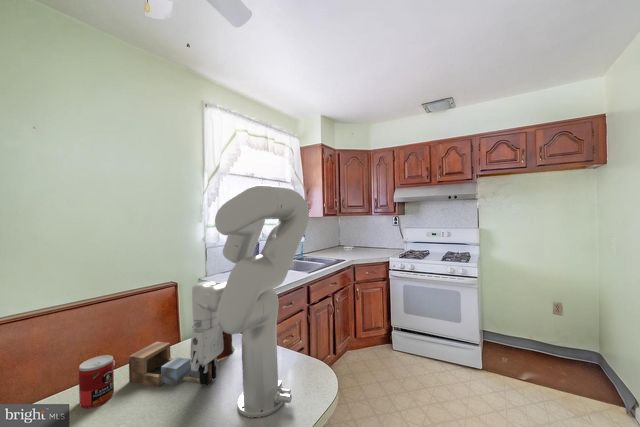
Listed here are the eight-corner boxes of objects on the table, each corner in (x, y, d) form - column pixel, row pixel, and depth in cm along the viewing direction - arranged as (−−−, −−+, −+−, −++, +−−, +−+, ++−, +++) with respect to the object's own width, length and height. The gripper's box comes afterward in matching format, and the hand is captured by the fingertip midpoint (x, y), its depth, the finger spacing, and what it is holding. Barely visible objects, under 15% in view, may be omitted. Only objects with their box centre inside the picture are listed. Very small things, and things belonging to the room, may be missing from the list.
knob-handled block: (217, 377, 85) (216, 358, 85) (204, 389, 79) (203, 369, 79) (176, 372, 89) (175, 354, 90) (161, 382, 84) (160, 363, 84)
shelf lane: (184, 368, 91) (183, 344, 92) (158, 387, 81) (157, 360, 82) (157, 364, 95) (156, 341, 95) (129, 381, 85) (128, 356, 85)
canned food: (94, 410, 72) (93, 369, 72) (71, 407, 74) (70, 367, 74) (120, 392, 80) (120, 355, 80) (99, 390, 81) (98, 354, 82)
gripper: (197, 333, 74) (199, 400, 74) (231, 313, 90) (233, 368, 89) (175, 331, 76) (177, 396, 76) (213, 312, 92) (215, 366, 91)
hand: (208, 380), depth 83 cm, fingers closed on knob-handled block, 2 cm apart
